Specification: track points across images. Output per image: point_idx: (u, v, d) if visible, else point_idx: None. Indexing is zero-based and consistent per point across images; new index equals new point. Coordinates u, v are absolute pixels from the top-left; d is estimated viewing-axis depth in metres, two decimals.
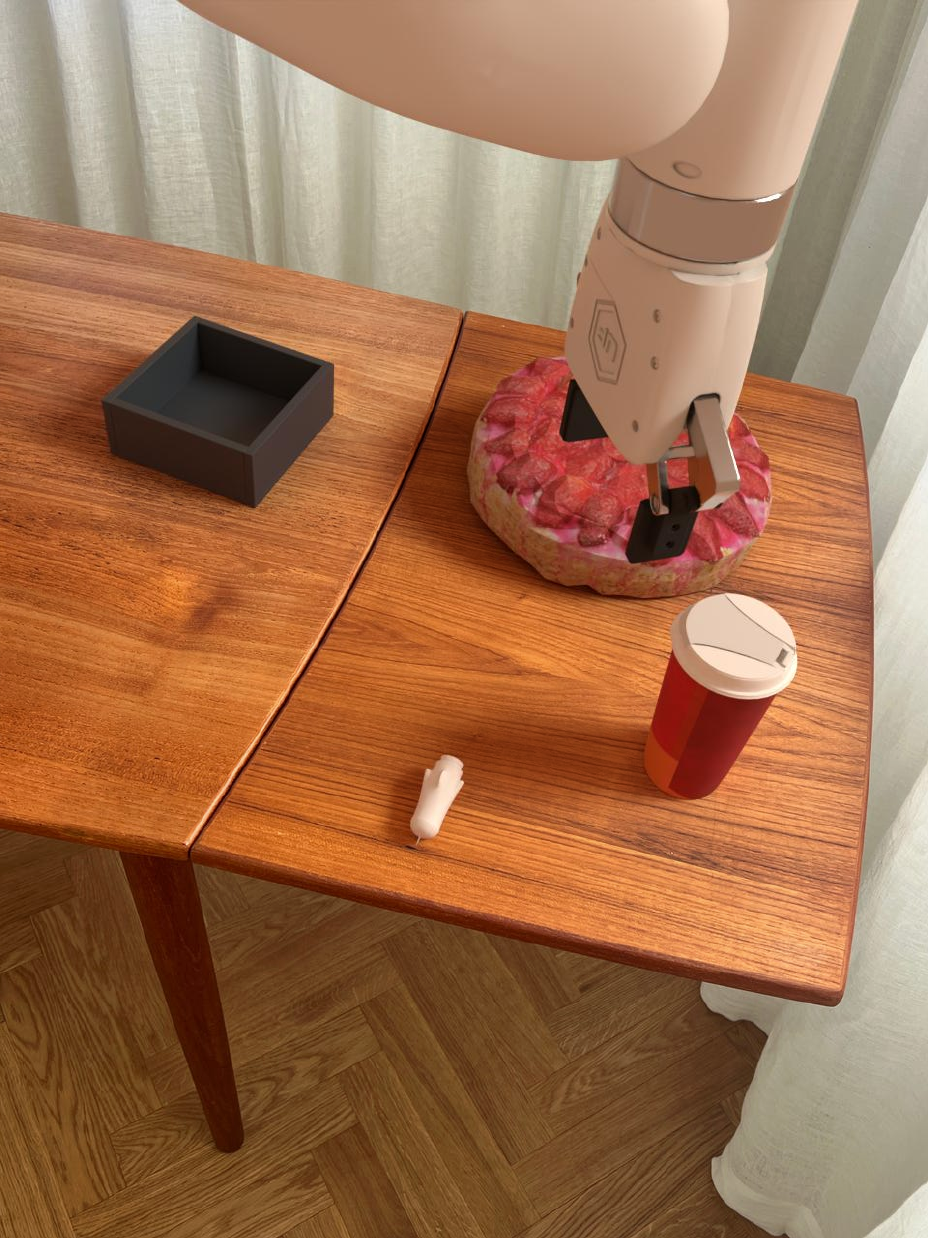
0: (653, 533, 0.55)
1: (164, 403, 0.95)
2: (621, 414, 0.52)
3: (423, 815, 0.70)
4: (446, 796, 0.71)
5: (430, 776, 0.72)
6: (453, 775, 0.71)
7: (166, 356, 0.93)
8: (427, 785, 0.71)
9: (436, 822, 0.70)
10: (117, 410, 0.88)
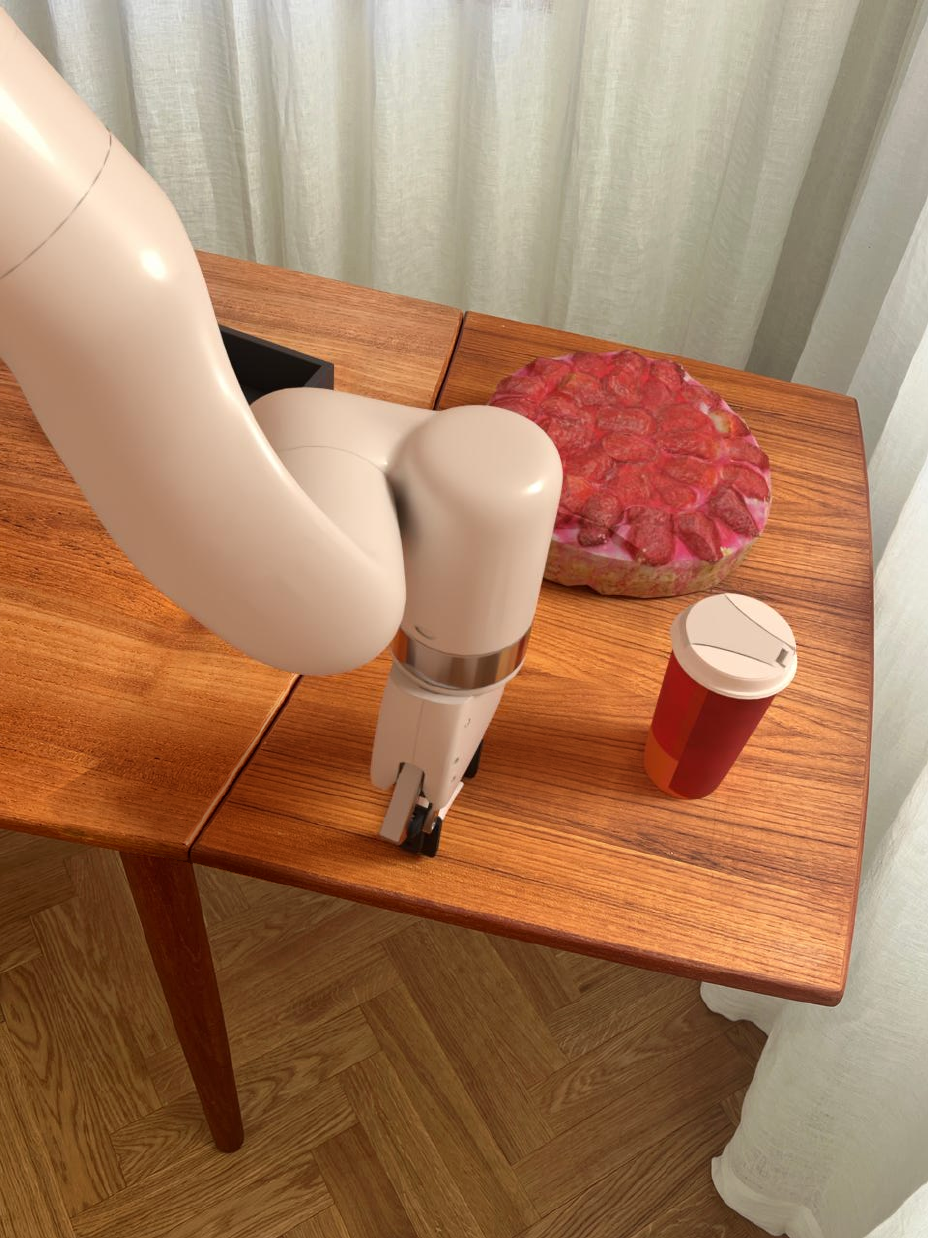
0: None
1: None
2: None
3: None
4: None
5: None
6: None
7: None
8: None
9: None
10: None
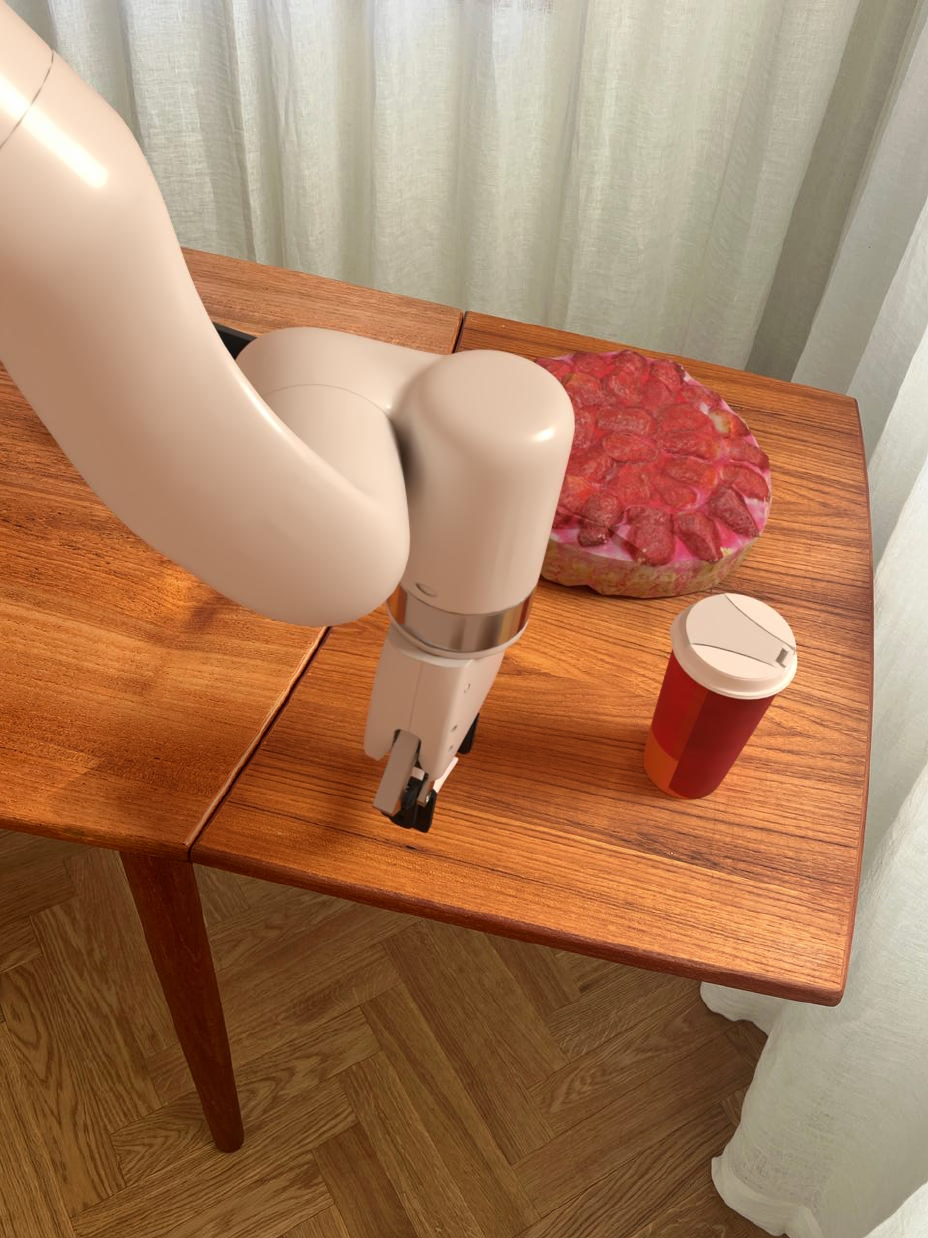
0: None
1: None
2: None
3: None
4: None
5: None
6: None
7: None
8: None
9: None
10: None
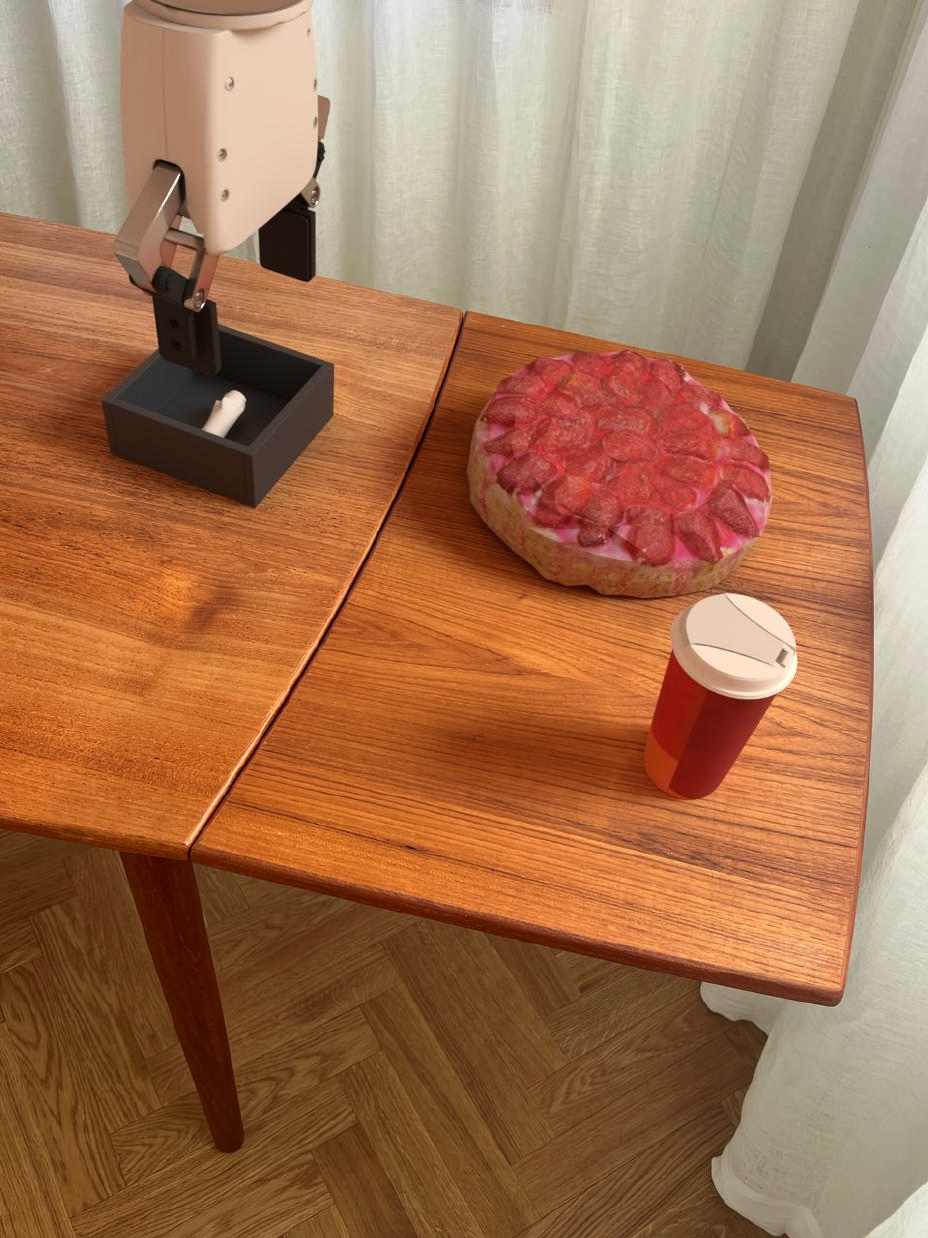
0: None
1: (164, 403, 0.95)
2: None
3: (208, 426, 0.92)
4: (228, 416, 0.92)
5: (218, 404, 0.93)
6: (235, 402, 0.93)
7: None
8: (214, 409, 0.93)
9: (218, 432, 0.92)
10: (117, 410, 0.88)
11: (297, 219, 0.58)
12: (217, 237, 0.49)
